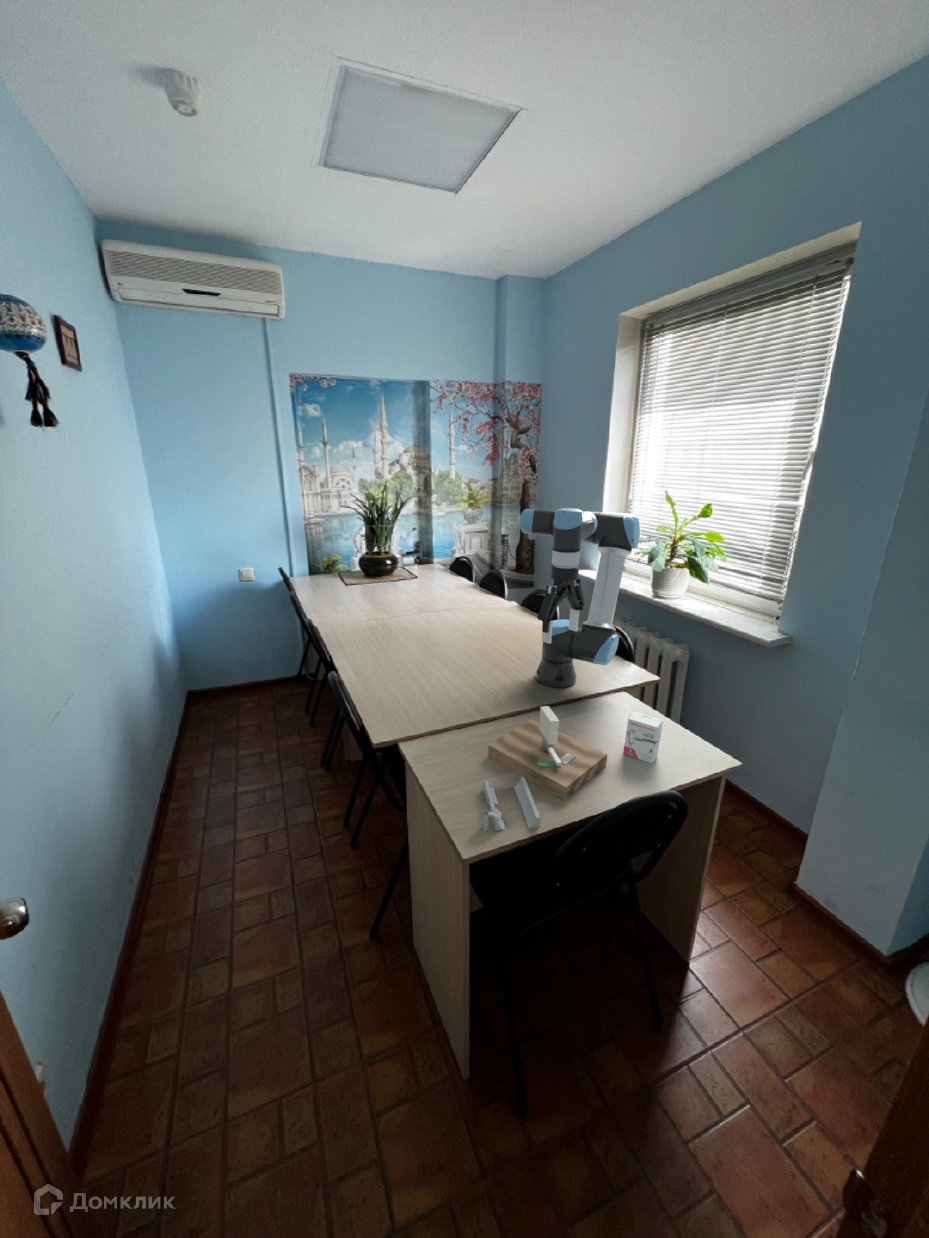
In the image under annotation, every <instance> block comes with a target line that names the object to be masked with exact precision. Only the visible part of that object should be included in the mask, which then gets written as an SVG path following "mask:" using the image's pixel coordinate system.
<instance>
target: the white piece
mask: <svg viewBox="0 0 929 1238" xmlns="http://www.w3.org/2000/svg"><path fill="white" fill-rule="evenodd" d="M539 709H540V711H539V729H540V731H541V733H542V746H541V749H542V750H543V751H546V752H549V753H550V755H551V756H552V758H553V760H554V761H555V763H556V765H561V764H562V762H561V761H560V759H559V757H558V756H557V754H556V753H555V751H554V750H553V744H557V743H558V732H559V728H560V720H559V718H558V717H557V715H556V714H555V713H554V711H553V710H552V709H551V707H550V706H549V705H548V706H547V705H545V706H540V707H539Z"/></svg>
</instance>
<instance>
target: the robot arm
mask: <svg viewBox="0 0 929 1238" xmlns="http://www.w3.org/2000/svg"><path fill="white" fill-rule="evenodd" d="M519 518H520V519H519V529H520V531H521V533H523V534H527V535H534V536H535V535H536V536H546V537H547V536H548V537H552V538H553V539H552V555H551V556H552V557H551V564H552V565H551V567H550V569H551V572H550V578H551V579H552V580H553V585H546V587H545V594H544V597H543V600H542V602H541V606H540V608H539V612H538V615H537V620H539V621H541V622H542V623H541V624H542V625H541V626H542V629H541V631H542V633H541V641H542V646H541V647H542V648H541V660H540V662H539V664H538V666H537V670H536V673H535V680H536V681H537V682H538V681H539V682H540V683H539V682H538V683H539V684H541V685H543V686H546V687H550V688H555V687H564V688H569V687H573V685H575V684H576V683H575V682H577V673H576V670H575V665H574V660H578V661H581V662H586V663H590V664H593V665H599V666H600V665H601V666H606V665H609V664H610V663H611V662H612V660H613V658H614V656H615V654H616V652H617V650H618V646H619V640H620V637H619V635H618V634H616V630H617V629H616V628H615V626H614V624H613V622H614V617H615V612H616V607H617V601H618V596H619V592H620V588H621V587H620V586H621V581H622V577H623V572H624V567H625V564H626V563H625V562H626V558H627V557H628V556H630V555H631V554H632V551H633V550H634V549H637V547H638V546H639V542H640V534H641V529H640V521H639V518H638V516H637V515H635V514H633V513H632V514H631V513H626V512H607V511H606V512H603V511H588V510H587V511H586V510H584V511H583V510H581V509H580V508H573V507H564V508H558V509H556V510H551V509H539V508H538V509H536V508H525V509H524V510H523V511H522V512H521V514H520V517H519ZM582 542H583V543H587V544H591V545H597V550H598V551H599V553H600V557H599V561H598V562H599V563H598V565H597V567H598V568H597V572H596V577H595V583H594V587H593V592H592V597H591V602H590V607H589V612H588V616H587V619H586V620H585V621H583V622H582V626H581V627H579V619H580V611H583V610H584V606H585V599H584V595H583V591H582V586H581V578H579V571H580V570H579V568H580V567H579V565H580V558H581V557H580V555H581V545H582V544H581V543H582ZM565 598H566V599H567V601H568V603H569V604H570V606H571V608H569V619H555V620H552V619H553V617H554V615H555V613H556V610H557V608H558V606H559V605H560V603H561V602H563V600H564V599H565Z"/></svg>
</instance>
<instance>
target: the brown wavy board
mask: <svg viewBox="0 0 929 1238" xmlns="http://www.w3.org/2000/svg"><path fill="white" fill-rule="evenodd" d="M539 723H540V721H537V720H534V719H530V720H528V721H526V722H525V723H523V724H521V725H520V726H518V727H516V728H514V729H513V730H511V731H509V732H508V733H506V734H504V735H503V736H501V737H499V738H497V739H496V740H494V741H493V742H491V743H489V744H488V748H487V749H488V750H487V757H488V758H489V759H491V760H493V761H494V762H497V763H498V764H499V765H501V766H504V767H505V768H507V769H508V770H510V771H512V772H514V773H515V774H517V775H519V776H520V777H522V776H523V775H524V778H525V779H526V780H528V781H530V783H531V782H532V783H533V784H535V785H537V786H539V787H540V788H542V789H544V790H546V791H547V792H549V793H551V794H552V795H554V796H556V797H557V798H559V799H561V798H562V799H561V800H563V799H564V800H563V801H566V800H568V799H569V798H570V797H572V796H573V795H574V794H575V793H577V791H578V790H580V789H581V788H582V787H584V785H586V784H587V783H589V781H591V780H592V779H593V778H594V777H595V776H596V775H598V774H599V773H600V772H602V771H603V770H604V769H605V768H606V767H607V762H608V761H607V760H608V753H607V752H604V751H601V750H600V749H597V748H595V747H594V746H591V745H589V744H586V743H585V742H582V741H580V740H578V739H576V738H573V737H571V736H570V735H567V734H564V733H563V732H560V731H558V743H557V744H553V750H554V751H555V753H556V754H557V756H558V757H559V759H560V761H561V762H562V764H561V765H556V763H555V761H554V760H553V758H552V756H551V755H550V753H549V752H546V751H543V750H542V749H541V746H542V733H541V731H540V729H539ZM573 793H574V794H573ZM568 797H569V798H568Z"/></svg>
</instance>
